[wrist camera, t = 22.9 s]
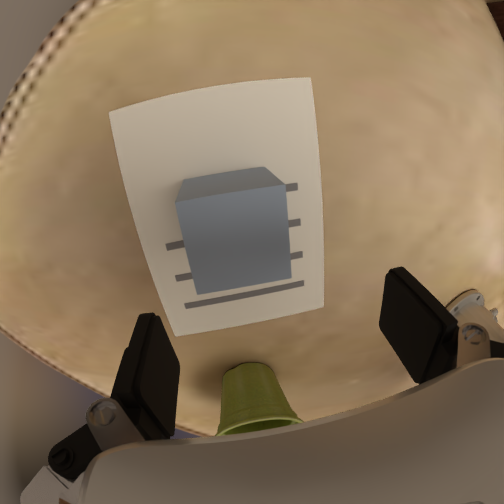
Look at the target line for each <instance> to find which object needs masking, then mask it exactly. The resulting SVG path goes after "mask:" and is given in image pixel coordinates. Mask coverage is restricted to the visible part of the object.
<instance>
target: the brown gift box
mask: <svg viewBox="0 0 504 504" xmlns="http://www.w3.org/2000/svg"><path fill="white" fill-rule="evenodd" d="M487 6H488V8H489V10H490V12H491V14H492V16H493V18H494V20H495V22H496V24H497V26H498V29H499V31H500V33H501V36H502V38H503V40H504V1H503V2H494V3H487Z"/></svg>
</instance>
